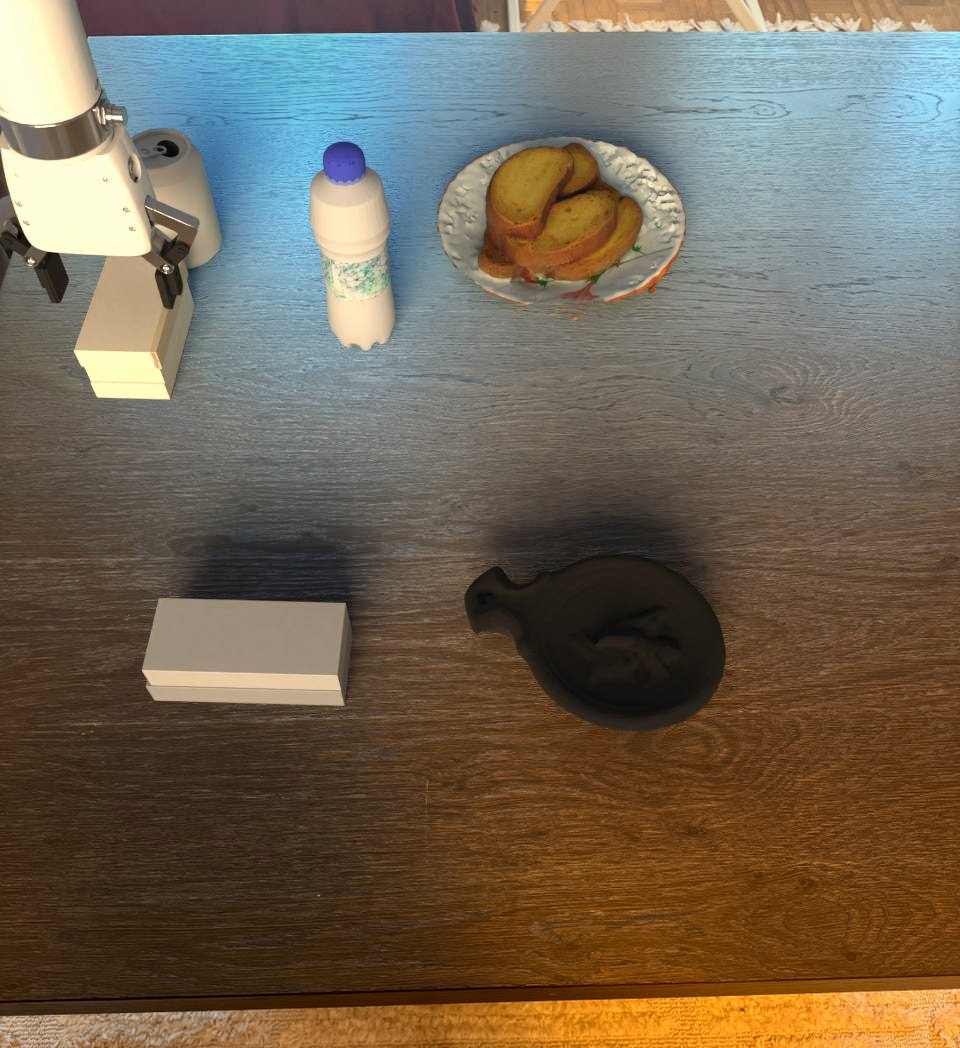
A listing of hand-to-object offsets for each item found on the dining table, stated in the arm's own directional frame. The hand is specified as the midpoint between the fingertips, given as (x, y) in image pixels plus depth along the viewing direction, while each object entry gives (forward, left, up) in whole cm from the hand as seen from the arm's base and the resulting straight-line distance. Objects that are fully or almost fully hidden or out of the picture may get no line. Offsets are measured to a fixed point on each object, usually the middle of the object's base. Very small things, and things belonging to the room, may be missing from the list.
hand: (116, 295), depth 84 cm
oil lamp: (+41, -30, -7) cm, 51 cm away
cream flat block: (+1, 0, -3) cm, 3 cm away
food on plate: (+40, +18, -7) cm, 44 cm away
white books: (+1, 0, -7) cm, 7 cm away
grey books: (+16, -32, -7) cm, 36 cm away
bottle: (+21, +3, -7) cm, 22 cm away
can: (+2, +14, -7) cm, 16 cm away
